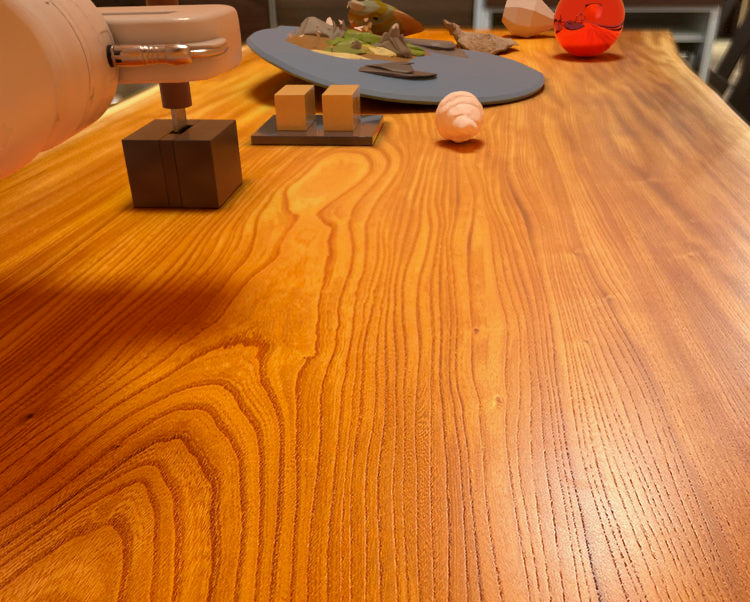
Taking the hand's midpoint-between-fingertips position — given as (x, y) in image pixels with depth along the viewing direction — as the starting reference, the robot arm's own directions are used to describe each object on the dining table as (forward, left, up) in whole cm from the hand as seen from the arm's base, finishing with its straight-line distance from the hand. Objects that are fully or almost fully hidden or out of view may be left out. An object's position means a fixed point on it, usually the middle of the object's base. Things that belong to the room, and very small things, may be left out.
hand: (115, 28), depth 55 cm
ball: (+44, +93, -16) cm, 104 cm away
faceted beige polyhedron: (+39, +120, -16) cm, 127 cm away
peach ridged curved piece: (+24, +31, -16) cm, 42 cm away
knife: (-1, +12, -16) cm, 20 cm away
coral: (+25, +102, -16) cm, 106 cm away
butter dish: (+7, +36, -16) cm, 40 cm away
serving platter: (+13, +68, -16) cm, 71 cm away
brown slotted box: (-1, +12, -16) cm, 20 cm away
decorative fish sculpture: (+7, +106, -16) cm, 107 cm away
